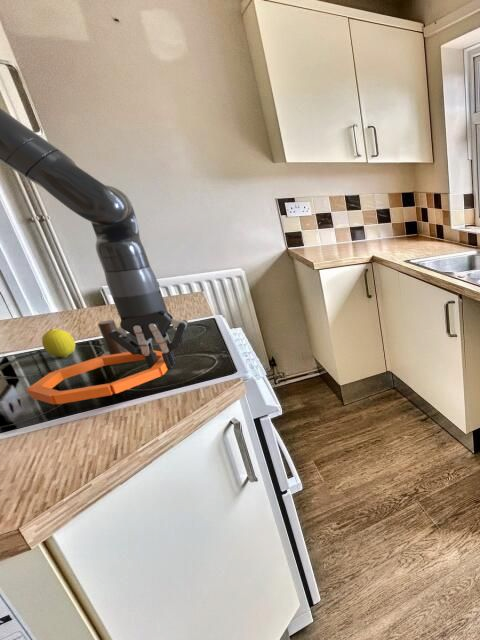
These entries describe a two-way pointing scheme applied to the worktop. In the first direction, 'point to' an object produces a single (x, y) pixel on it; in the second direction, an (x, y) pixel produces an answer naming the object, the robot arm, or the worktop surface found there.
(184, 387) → the worktop surface
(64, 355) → the lemon
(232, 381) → the worktop surface
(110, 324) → the post
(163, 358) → the robot arm
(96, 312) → the worktop surface
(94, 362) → the ring
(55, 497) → the worktop surface
